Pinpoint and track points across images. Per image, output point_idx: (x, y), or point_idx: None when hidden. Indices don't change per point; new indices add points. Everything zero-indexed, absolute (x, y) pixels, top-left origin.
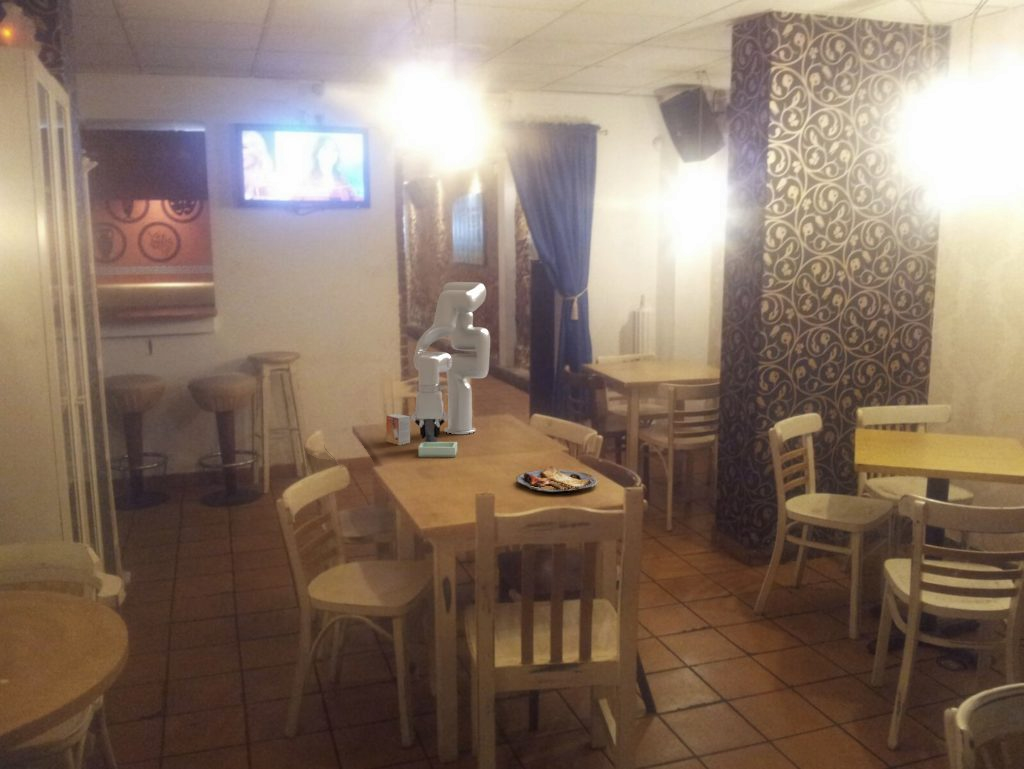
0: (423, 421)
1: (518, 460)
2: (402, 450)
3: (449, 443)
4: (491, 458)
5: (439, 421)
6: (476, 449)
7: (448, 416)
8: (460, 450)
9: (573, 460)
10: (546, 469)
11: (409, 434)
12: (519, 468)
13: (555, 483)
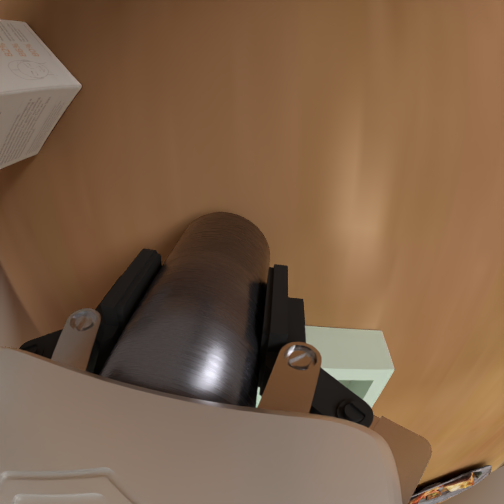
0: (92, 363)
1: (494, 410)
2: (84, 275)
3: (347, 375)
4: (452, 406)
5: (304, 401)
6: (478, 292)
7: (419, 469)
8: (404, 309)
9: None
10: (456, 483)
11: (40, 94)
12: (452, 453)
13: (436, 492)
